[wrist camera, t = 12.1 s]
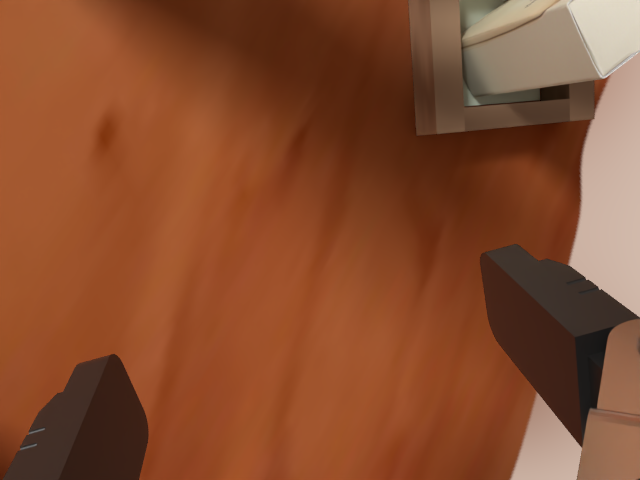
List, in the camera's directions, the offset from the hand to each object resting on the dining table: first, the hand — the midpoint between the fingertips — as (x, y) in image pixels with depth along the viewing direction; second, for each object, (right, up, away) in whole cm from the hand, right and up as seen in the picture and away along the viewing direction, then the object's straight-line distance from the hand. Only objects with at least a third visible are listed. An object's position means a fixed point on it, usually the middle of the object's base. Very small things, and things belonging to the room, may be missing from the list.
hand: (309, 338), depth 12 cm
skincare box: (+12, +15, +27) cm, 33 cm away
